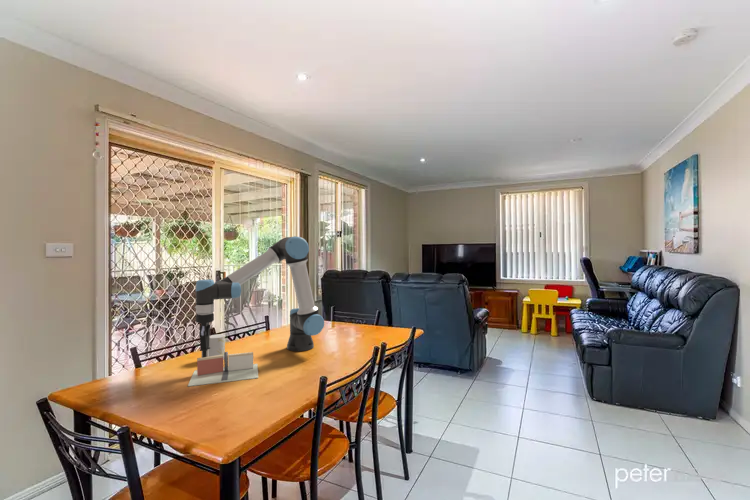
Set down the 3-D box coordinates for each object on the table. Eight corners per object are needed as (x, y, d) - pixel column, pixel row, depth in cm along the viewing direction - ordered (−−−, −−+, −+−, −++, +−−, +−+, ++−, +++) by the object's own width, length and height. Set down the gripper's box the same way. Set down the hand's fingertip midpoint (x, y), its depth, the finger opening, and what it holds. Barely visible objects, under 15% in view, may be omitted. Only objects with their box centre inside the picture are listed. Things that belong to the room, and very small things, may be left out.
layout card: (257, 364, 174) (257, 363, 174) (258, 378, 155) (258, 377, 155) (194, 371, 165) (194, 370, 165) (187, 386, 146) (187, 385, 146)
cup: (220, 361, 178) (220, 338, 178) (204, 361, 179) (204, 338, 179) (227, 356, 187) (227, 334, 186) (212, 356, 187) (212, 334, 187)
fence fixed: (253, 367, 169) (253, 349, 169) (253, 369, 167) (253, 350, 167) (224, 371, 164) (224, 352, 164) (224, 372, 163) (224, 353, 163)
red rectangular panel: (223, 370, 164) (223, 354, 164) (223, 371, 162) (223, 355, 162) (197, 374, 159) (197, 358, 159) (197, 375, 157) (197, 359, 157)
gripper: (198, 311, 167) (199, 360, 167) (192, 316, 155) (192, 369, 155) (216, 310, 169) (216, 359, 169) (211, 315, 157) (211, 368, 157)
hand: (205, 364), depth 162 cm, fingers closed
